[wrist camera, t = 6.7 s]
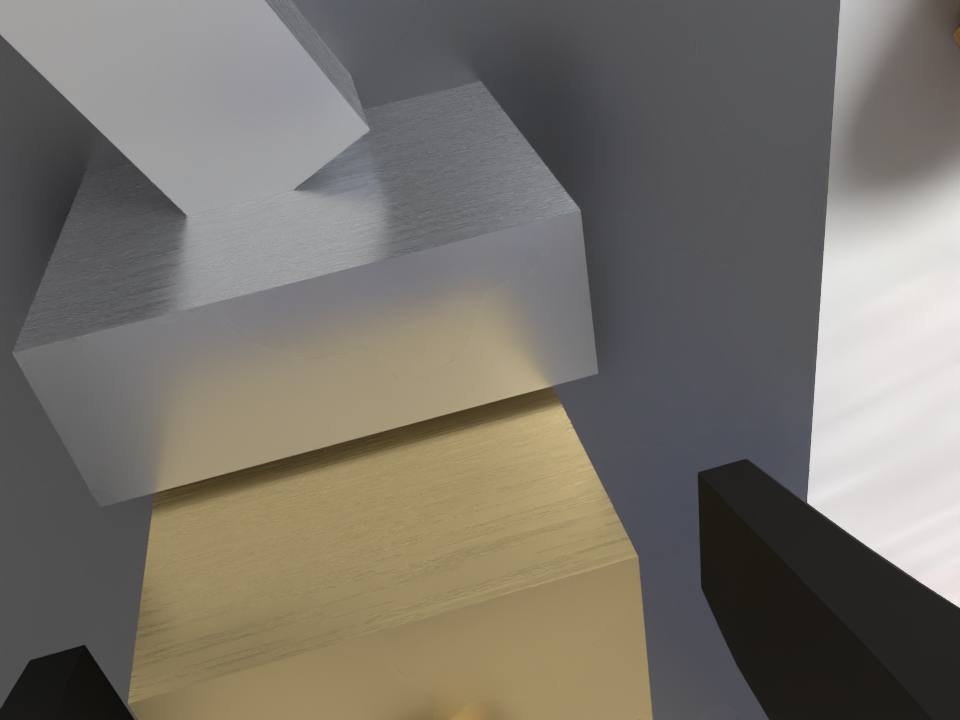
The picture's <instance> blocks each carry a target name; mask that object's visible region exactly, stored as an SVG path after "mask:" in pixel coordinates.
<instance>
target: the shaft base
mask: <svg viewBox="0 0 960 720" xmlns="http://www.w3.org/2000/svg"><path fill="white" fill-rule="evenodd" d="M839 10H840V0H0V708H1V707H2V705H3V703H4V702H5V700H6V698H7V697H8V695H9V693H10V692H11V690H12V688H13V687H14V685H15V683H16V682H17V680H18V679H19V677H20V675H21V674H22V672H23V671H24V669H25V667H26V666H27V664H28V662H29V661H30V660H32V659H36V658H39V657H43V656H46V655H50V654H54V653H57V652H61V651H64V650H68V649H71V648H75V647H78V646H82V645H85V646H86V647H87V649H88V650H89V652H90V653H91V655H92V656H93V658H94V659H95V661H96V662H97V664H98V665H99V667H100V668H101V670H102V671H103V673H104V674H105V676H106V677H107V679H108V680H109V682H110V683H111V685H112V686H113V688H114V689H115V691H116V692H117V694H118V695H119V697H120V698H121V700H122V701H123V703H124V704H125V706H126V707H127V709H128V710H129V712H130V713H131V715H132V716H133V718H134V719H135V720H138V719H137V717H136V716H135V714H134V713H133V711H132V710H131V708H130V707H129V705H128V697H129V689H130V682H131V674H132V666H133V658H134V650H135V642H136V634H137V627H138V619H139V611H140V603H141V595H142V587H143V579H144V572H145V564H146V556H147V548H148V540H149V532H150V524H151V517H152V509H153V501H154V493H156V492H159V491H163V490H167V489H170V488H174V487H178V486H182V485H185V484H189V483H193V482H197V481H200V480H204V479H208V478H211V477H215V476H219V475H223V474H226V473H230V472H234V471H237V470H241V469H245V468H249V467H252V466H256V465H260V464H264V463H267V462H271V461H275V460H278V459H282V458H286V457H290V456H293V455H297V454H301V453H305V452H308V451H312V450H316V449H319V448H323V447H327V446H331V445H334V444H338V443H342V442H346V441H349V440H353V439H357V438H360V437H364V436H368V435H372V434H375V433H379V432H383V431H387V430H390V429H394V428H398V427H401V426H405V425H409V424H413V423H416V422H420V421H424V420H427V419H431V418H435V417H439V416H442V415H446V414H450V413H454V412H457V411H461V410H465V409H468V408H472V407H476V406H480V405H483V404H487V403H491V402H495V401H498V400H502V399H506V398H509V397H513V396H517V395H521V394H524V393H528V392H532V391H536V390H539V389H543V388H547V387H550V386H553V388H554V390H555V392H556V394H557V396H558V398H559V400H560V402H561V404H562V406H563V408H564V410H565V412H566V414H567V416H568V418H569V420H570V422H571V424H572V426H573V428H574V430H575V432H576V434H577V436H578V438H579V440H580V442H581V444H582V446H583V448H584V450H585V452H586V454H587V456H588V458H589V460H590V462H591V464H592V466H593V468H594V470H595V472H596V474H597V476H598V478H599V480H600V482H601V484H602V486H603V488H604V489H605V491H606V493H607V495H608V497H609V499H610V501H611V503H612V505H613V507H614V509H615V511H616V513H617V515H618V517H619V519H620V521H621V523H622V525H623V527H624V529H625V531H626V533H627V535H628V537H629V539H630V541H631V543H632V545H633V547H634V549H635V551H636V553H637V555H638V559H639V570H640V581H641V593H642V604H643V615H644V627H645V638H646V650H647V661H648V672H649V684H650V695H651V706H652V718H653V720H769V719H768V717H767V715H766V714H765V712H764V710H763V709H762V707H761V705H760V704H759V702H758V700H757V699H756V697H755V695H754V694H753V692H752V690H751V689H750V687H749V685H748V684H747V682H746V680H745V679H744V677H743V675H742V673H741V672H740V670H739V668H738V667H737V665H736V663H735V661H734V659H733V656H732V654H731V652H730V650H729V648H728V646H727V644H726V642H725V640H724V637H723V635H722V633H721V631H720V629H719V627H718V624H717V622H716V620H715V618H714V615H713V613H712V611H711V609H710V607H709V604H708V602H707V600H706V598H705V595H704V593H703V591H702V589H701V569H700V536H699V503H698V472H700V471H704V470H707V469H711V468H715V467H718V466H722V465H725V464H729V463H732V462H736V461H739V460H743V459H748V460H749V461H751V462H753V463H754V464H756V465H757V466H758V467H760V468H761V469H762V470H764V471H765V472H766V473H768V474H769V475H770V476H772V477H773V478H774V479H776V480H777V481H778V482H780V483H781V484H782V485H784V486H785V487H786V488H788V489H789V490H790V491H792V492H793V493H794V494H796V495H797V496H798V497H800V498H801V499H802V500H804V501H805V502H806V503H807V492H808V477H809V462H810V447H811V432H812V417H813V402H814V386H815V371H816V356H817V341H818V326H819V311H820V296H821V281H822V266H823V251H824V236H825V221H826V206H827V191H828V176H829V161H830V146H831V131H832V116H833V101H834V86H835V71H836V56H837V41H838V25H839Z"/></svg>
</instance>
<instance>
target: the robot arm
mask: <svg viewBox="0 0 960 720" xmlns="http://www.w3.org/2000/svg"><path fill="white" fill-rule="evenodd" d="M698 503H699V536H700V569H701V589H702V591H703V593H704V595H705V598H706V600H707V602H708V604H709V607H710V609H711V611H712V613H713V615H714V618H715V620H716V622H717V624H718V627H719V629H720V631H721V633H722V635H723V637H724V640H725V642H726V644H727V646H728V648H729V650H730V652H731V654H732V656H733V659H734V661H735V663H736V665H737V667H738V668H739V670H740V672H741V673H742V675H743V677H744V679H745V680H746V682H747V684H748V685H749V687H750V689H751V690H752V692H753V694H754V695H755V697H756V699H757V700H758V702H759V704H760V705H761V707H762V709H763V710H764V712H765V714H766V715H767V717H768V719H769V720H960V608H959V607H957V606H956V605H954V604H953V603H951V602H950V601H948V600H946V599H945V598H943V597H942V596H940V595H939V594H937V593H936V592H934V591H933V590H931V589H929V588H928V587H926V586H925V585H923V584H922V583H920V582H919V581H917V580H916V579H914V578H913V577H911V576H910V575H908V574H907V573H906V572H904V571H903V570H901V569H900V568H898V567H897V566H895V565H894V564H892V563H891V562H889V561H888V560H886V559H885V558H883V557H882V556H880V555H879V554H877V553H876V552H875V551H873V550H872V549H870V548H869V547H867V546H866V545H864V544H863V543H862V542H860V541H859V540H857V539H856V538H855V537H853V536H852V535H850V534H849V533H847V532H846V531H845V530H843V529H842V528H841V527H839V526H838V525H836V524H835V523H834V522H832V521H831V520H830V519H828V518H827V517H825V516H824V515H823V514H821V513H820V512H819V511H817V510H816V509H814V508H813V507H812V506H810V505H809V504H808V503H806V502H805V501H804V500H802V499H801V498H800V497H798V496H797V495H796V494H794V493H793V492H792V491H790V490H789V489H788V488H786V487H785V486H784V485H782V484H781V483H780V482H778V481H777V480H776V479H774V478H773V477H772V476H770V475H769V474H768V473H766V472H765V471H764V470H762V469H761V468H760V467H758V466H757V465H756V464H754V463H753V462H751V461H749V460H748V459H743V460H739V461H736V462H732V463H729V464H725V465H722V466H718V467H715V468H711V469H707V470H704V471H700V472H698ZM0 720H135V719H134V718H133V716H132V715H131V713H130V712H129V710H128V709H127V707H126V706H125V704H124V703H123V701H122V700H121V698H120V697H119V695H118V694H117V692H116V691H115V689H114V688H113V686H112V685H111V683H110V682H109V680H108V679H107V677H106V676H105V674H104V673H103V671H102V670H101V668H100V667H99V665H98V664H97V662H96V661H95V659H94V658H93V656H92V655H91V653H90V652H89V650H88V649H87V647H86V646H85V645H82V646H78V647H75V648H71V649H68V650H64V651H61V652H57V653H54V654H50V655H46V656H43V657H39V658H36V659H32V660H30V661H29V662H28V664H27V666H26V667H25V669H24V671H23V672H22V674H21V675H20V677H19V679H18V680H17V682H16V683H15V685H14V687H13V688H12V690H11V692H10V693H9V695H8V697H7V698H6V700H5V702H4V703H3V705H2V707H1V708H0Z"/></svg>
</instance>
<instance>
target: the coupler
mask: <svg viewBox="0 0 960 720" xmlns="http://www.w3.org/2000/svg"><path fill="white" fill-rule="evenodd" d="M128 705H129V707H130V708H131V710H132V711H133V713H134V714H135V716H136V717H137V719H138V720H653V718H652V706H651V695H650V684H649V672H648V661H647V650H646V638H645V627H644V615H643V604H642V593H641V581H640V570H639V559H638V555H637V553H636V551H635V549H634V547H633V545H632V543H631V541H630V539H629V537H628V535H627V533H626V531H625V529H624V527H623V525H622V523H621V521H620V519H619V517H618V515H617V513H616V511H615V509H614V507H613V505H612V503H611V501H610V499H609V497H608V495H607V493H606V491H605V489H604V488H603V486H602V484H601V482H600V480H599V478H598V476H597V474H596V472H595V470H594V468H593V466H592V464H591V462H590V460H589V458H588V456H587V454H586V452H585V450H584V448H583V446H582V444H581V442H580V440H579V438H578V436H577V434H576V432H575V430H574V428H573V426H572V424H571V422H570V420H569V418H568V416H567V414H566V412H565V410H564V408H563V406H562V404H561V402H560V400H559V398H558V396H557V394H556V392H555V390H554V388H553V386H550V387H547V388H543V389H539V390H536V391H532V392H528V393H524V394H521V395H517V396H513V397H509V398H506V399H502V400H498V401H495V402H491V403H487V404H483V405H480V406H476V407H472V408H468V409H465V410H461V411H457V412H454V413H450V414H446V415H442V416H439V417H435V418H431V419H427V420H424V421H420V422H416V423H413V424H409V425H405V426H401V427H398V428H394V429H390V430H387V431H383V432H379V433H375V434H372V435H368V436H364V437H360V438H357V439H353V440H349V441H346V442H342V443H338V444H334V445H331V446H327V447H323V448H319V449H316V450H312V451H308V452H305V453H301V454H297V455H293V456H290V457H286V458H282V459H278V460H275V461H271V462H267V463H264V464H260V465H256V466H252V467H249V468H245V469H241V470H237V471H234V472H230V473H226V474H223V475H219V476H215V477H211V478H208V479H204V480H200V481H197V482H193V483H189V484H185V485H182V486H178V487H174V488H170V489H167V490H163V491H159V492H156V493H154V501H153V509H152V517H151V524H150V532H149V540H148V548H147V556H146V564H145V572H144V579H143V587H142V595H141V603H140V611H139V619H138V627H137V634H136V642H135V650H134V658H133V666H132V674H131V682H130V689H129V697H128Z"/></svg>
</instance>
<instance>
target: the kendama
mask: <svg viewBox="0 0 960 720" xmlns="http://www.w3.org/2000/svg"><path fill="white" fill-rule="evenodd" d="M953 36H954V39H955V41H956V43H957V45H958V46H959V48H960V26H959V28H958V29H957V30H956V31H955V33H954V34H953Z"/></svg>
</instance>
